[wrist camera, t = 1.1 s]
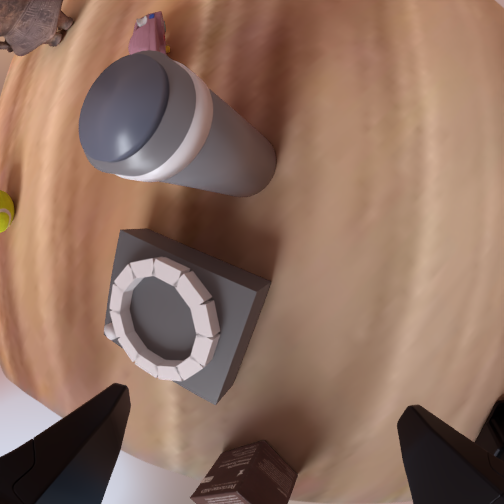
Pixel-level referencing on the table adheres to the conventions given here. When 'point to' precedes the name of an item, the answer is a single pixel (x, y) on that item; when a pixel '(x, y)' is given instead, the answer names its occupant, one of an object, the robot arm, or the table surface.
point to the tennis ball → (5, 211)
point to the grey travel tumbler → (171, 129)
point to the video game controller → (149, 34)
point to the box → (247, 478)
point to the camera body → (181, 312)
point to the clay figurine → (31, 24)
